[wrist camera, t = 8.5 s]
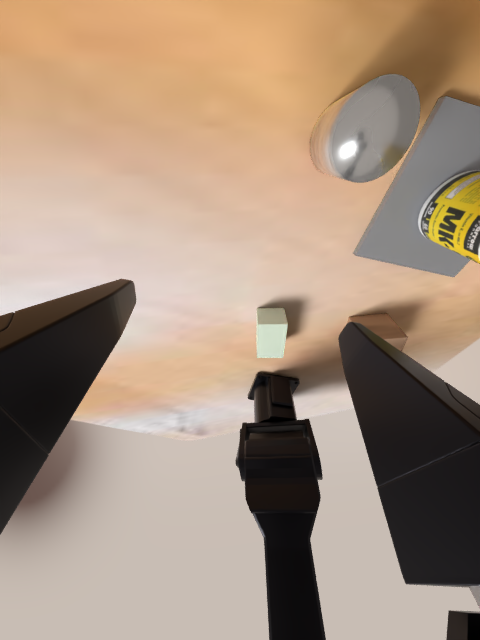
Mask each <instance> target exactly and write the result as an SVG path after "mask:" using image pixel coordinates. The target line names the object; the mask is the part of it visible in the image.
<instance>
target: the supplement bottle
mask: <svg viewBox="0 0 480 640" xmlns="http://www.w3.org/2000/svg"><path fill="white" fill-rule="evenodd" d="M418 227H419V230H420V232H421V234H422V235H423V236H424V237H426V238H427V239H429V240H431V241H433V242H436V243H438V244H440V245H442V246H444V247H446V248H448V249H450V250H452V251H454V252H456V253H458V254H460V255H462V256H464V257H466V258H468V259H471V260H473V261H475V262H477V263H479V264H480V170H473V171H467V172H463V173H461V174H458V175H456V176H454V177H452V178H450V179H449V180H447V181H446V182H444V183H443V184H442V185H440V186H439V187H438V188H437V189H436V190H435V191H434V192H433V193H432V194H431V195H430V196H429V197H428V199H427V200H426V201H425V203H424V205H423V206H422V208H421V211H420V214H419V218H418Z"/></svg>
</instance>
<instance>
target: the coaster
mask: <svg viewBox="0 0 480 640" xmlns="http://www.w3.org/2000/svg"><path fill="white" fill-rule="evenodd" d="M473 170H480V107H479V106H476V105H473V104H469V103H466V102H463V101H460V100H457V99H454V98H451V97H448V96H445V97H441V98H439V99H438V101H437V103H436V104H435V106H434V108H433V110H432V112H431V113H430V115H429V117H428V119H427V121H426V122H425V124H424V126H423V128H422V130H421V131H420V133H419V135H418V137H417V139H416V140H415V142H414V144H413V146H412V148H411V149H410V151H409V153H408V155H407V157H406V159H405V160H404V162H403V164H402V166H401V168H400V169H399V171H398V173H397V175H396V177H395V178H394V180H393V182H392V184H391V186H390V187H389V189H388V191H387V193H386V195H385V196H384V198H383V200H382V202H381V204H380V205H379V207H378V209H377V211H376V213H375V215H374V216H373V218H372V220H371V222H370V224H369V225H368V227H367V229H366V231H365V233H364V234H363V236H362V238H361V240H360V242H359V243H358V245H357V247H356V249H355V251H354V252H353V254H355V255H356V256H360V257H364V258H369V259H373V260H378V261H382V262H387V263H391V264H396V265H400V266H405V267H409V268H414V269H418V270H423V271H428V272H432V273H437V274H441V275H446V276H450V277H455V276H456V275H457V274H458V273H459V272H460V270H461V269H462V268H463V267H464V266H465V265H466V264H467V263H468V262H469V261H470V260H471V259H468V258H466V257H464V256H462V255H460V254H458V253H456V252H454V251H452V250H450V249H448V248H446V247H444V246H442V245H440V244H438V243H436V242H433V241H431V240H429V239H427V238H426V237H424V236H423V235H422V234H421V232H420V230H419V227H418V218H419V214H420V211H421V208H422V206H423V205H424V203H425V201H426V200H427V199H428V197H429V196H430V195H431V194H432V193H433V192H434V191H435V190H436V189H437V188H438V187H439V186H440V185H442V184H443V183H444V182H446V181H447V180H449V179H450V178H452V177H454V176H456V175H458V174H461V173H463V172H467V171H473Z"/></svg>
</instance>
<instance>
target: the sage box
mask: <svg viewBox="0 0 480 640" xmlns="http://www.w3.org/2000/svg"><path fill="white" fill-rule="evenodd" d="M287 327H288V323H287V319H286V314H285V310H284V308H257V328H256V346H257V358H283V355H284V348H285V341H286V334H287Z"/></svg>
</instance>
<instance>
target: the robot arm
mask: <svg viewBox="0 0 480 640" xmlns="http://www.w3.org/2000/svg"><path fill="white" fill-rule="evenodd" d="M135 304H136V294H135V286H134V283H133V281H131V280H126V279H119V280H116V281H113V282H109V283H106V284H103V285H100V286H96V287H93V288H90V289H87V290H83V291H80V292H77V293H74V294H70V295H67V296H64V297H61V298H57V299H54V300H51V301H47V302H44V303H41V304H38V305H34V306H31V307H28V308H25V309H21V310H18V311H15V313H13V312H11V313H8V314H5V315H2V316H0V534H1V533H2V531H3V529H4V528H5V526H6V524H7V523H8V521H9V520H10V518H11V516H12V515H13V513H14V511H15V510H16V508H17V506H18V505H19V503H20V501H21V500H22V498H23V496H24V495H25V493H26V491H27V490H28V488H29V486H30V485H31V483H32V482H33V480H34V479H35V477H36V475H37V473H38V472H39V470H40V469H41V467H42V465H43V464H44V462H45V460H46V459H47V457H48V454H49V453H50V452H51V450H52V449H53V447H54V445H55V443H56V442H57V440H58V439H59V437H60V435H61V434H62V432H63V430H64V429H65V427H66V425H67V424H68V422H69V421H70V419H71V417H72V416H73V414H74V412H75V411H76V409H77V408H78V406H79V404H80V403H81V401H82V399H83V398H84V396H85V394H86V393H87V391H88V390H89V388H90V386H91V385H92V383H93V381H94V380H95V378H96V376H97V375H98V373H99V371H100V370H101V368H102V367H103V365H104V363H105V362H106V360H107V358H108V357H109V355H110V353H111V352H112V350H113V348H114V347H115V345H116V344H117V342H118V340H119V339H120V337H121V335H122V333H123V331H124V329H125V327H126V324H127V322H128V320H129V318H130V315H131V313H132V311H133V309H134V306H135ZM339 346H340V352H341V358H342V363H343V369H344V373H345V377H346V380H347V384H348V387H349V391H350V394H351V398H352V401H353V405H354V408H355V411H356V415H357V418H358V422H359V425H360V429H361V432H362V436H363V439H364V443H365V446H366V449H367V453H368V457H369V460H370V464H371V467H372V471H373V474H374V477H375V481H376V484H377V486H378V492H379V496H380V499H381V502H382V506H383V509H384V513H385V516H386V520H387V523H388V527H389V530H390V534H391V537H392V541H393V544H394V548H395V551H396V555H397V558H398V562H399V565H400V569H401V572H402V575H403V578H404V580H405V583H406V584H414V585H433V586H452V587H469V588H470V590H471V592H472V594H473V596H474V598H475V600H476V602H477V604H478V606H479V608H480V405H479V404H478V403H476V402H475V401H473V400H472V399H470V398H469V397H467V396H466V395H464V394H463V393H461V392H460V391H458V390H457V389H455V388H454V387H452V386H451V385H450V384H448V383H446V382H444V380H442V379H441V378H439V377H438V376H436V375H435V374H433V373H432V372H431V371H429V370H428V369H426V368H425V367H423V366H422V365H420V364H419V363H417V362H416V361H415V360H413V359H412V358H410V357H409V356H407V355H406V354H404V353H403V352H401V351H400V350H398V349H397V348H396V347H394V346H393V345H391V344H390V343H388V342H387V341H385V340H384V339H382V338H381V337H380V336H378V335H377V334H375V333H374V332H372V331H371V330H369V329H368V328H366V327H365V326H364V325H362V324H361V323H358V322H352V321H351V322H348V323H347V325H346V326H345V328H344V329H343V331H342V332H341V333H340V335H339ZM298 385H299V379H295V378H289V377H282V376H276V375H269V374H262V373H258V374H256V377H255V379H254V381H253V384H252V386H251V389H250V391H249V394H248V399H250V400H254V413H255V423H243V424H242V429H240V443H239V448H238V453H237V457H236V466H237V467H238V468H239V470H240V475H241V479H242V481H245V493H246V494H245V495H246V501H247V504H248V506H249V509H250V511H251V513H252V514H253V516H254V518H255V520H256V522H257V524H258V526H259V528H260V531H261V533H262V535H263V537H264V545H265V562H266V583H267V602H268V621H269V640H326V638H325V632H324V625H323V619H322V613H321V607H320V600H319V593H318V587H317V581H316V574H315V568H314V562H313V556H312V550H311V542H310V537H311V533H312V530H313V526H314V522H315V518H316V514H317V510H318V507H319V502H320V492H319V486H318V480H322V469H321V463H320V458H319V453H318V449H317V446H316V442H315V439H314V436H313V432H312V428H311V425H310V421H309V419H305V420H297V417H296V412H295V406H294V401H293V396H292V394H293V392H294V391H295V389H296V388H297V386H298ZM447 640H480V612H473V611H449V615H448V627H447Z"/></svg>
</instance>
